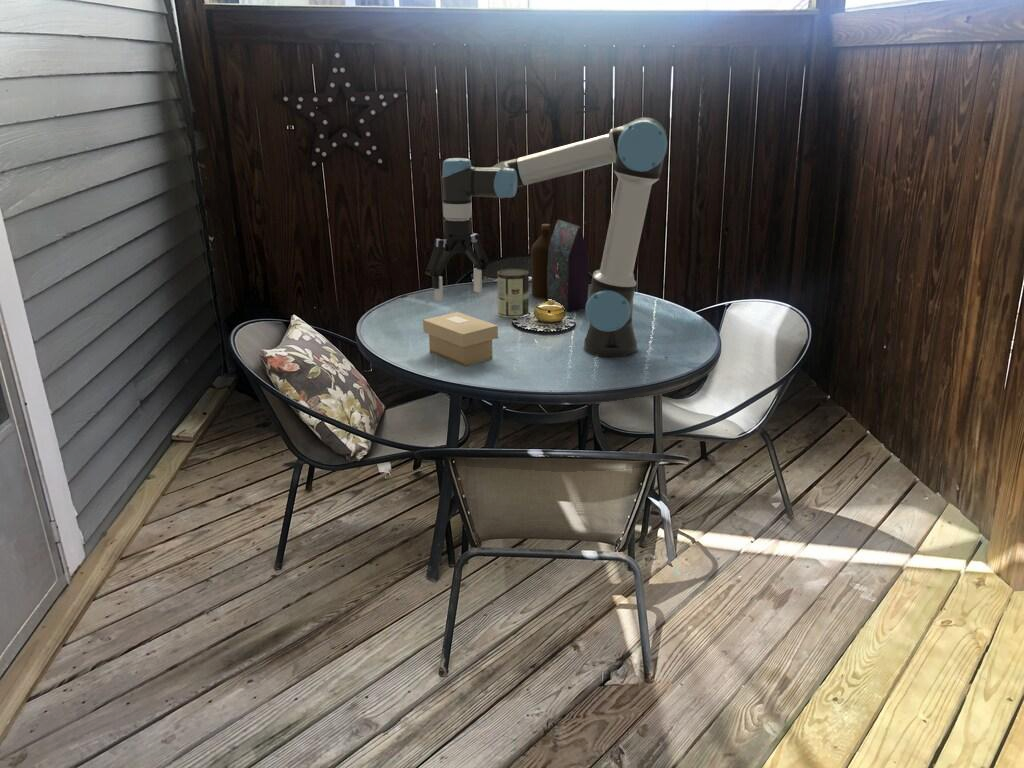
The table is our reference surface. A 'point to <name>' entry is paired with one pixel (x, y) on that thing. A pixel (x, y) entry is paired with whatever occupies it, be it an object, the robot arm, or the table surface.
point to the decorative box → (568, 267)
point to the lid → (460, 329)
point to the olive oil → (540, 262)
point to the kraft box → (461, 351)
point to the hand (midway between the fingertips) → (458, 296)
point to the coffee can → (513, 293)
